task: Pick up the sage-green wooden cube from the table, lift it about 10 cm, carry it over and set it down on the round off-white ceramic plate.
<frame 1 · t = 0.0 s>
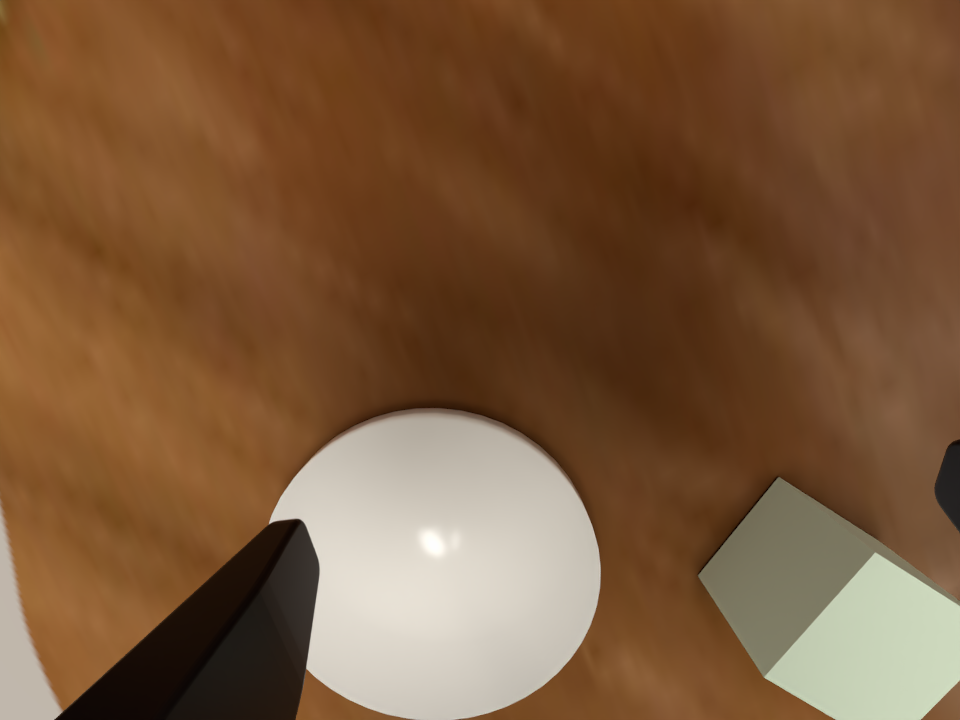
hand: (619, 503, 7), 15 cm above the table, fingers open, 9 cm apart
sage cube: (787, 558, 25), on the table
plate: (434, 560, 25), on the table
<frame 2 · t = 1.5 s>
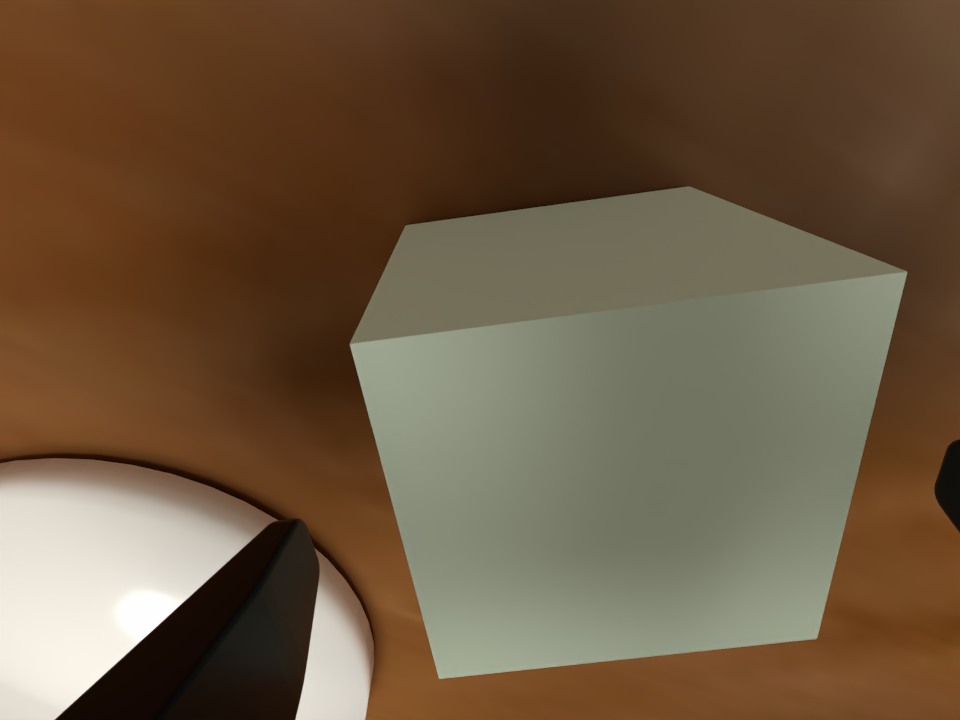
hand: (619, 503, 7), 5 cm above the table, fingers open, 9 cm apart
sage cube: (555, 335, 12), on the table
plate: (138, 647, 17), on the table
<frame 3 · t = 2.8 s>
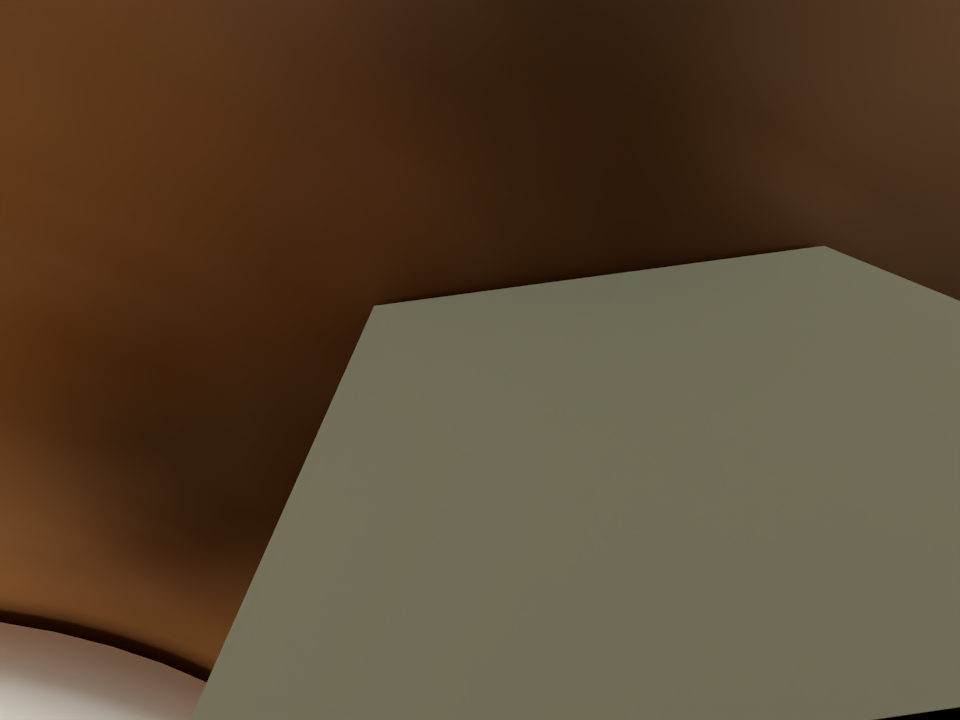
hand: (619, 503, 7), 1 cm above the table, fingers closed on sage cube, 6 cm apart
sage cube: (601, 457, 8), on the table, touching gripper
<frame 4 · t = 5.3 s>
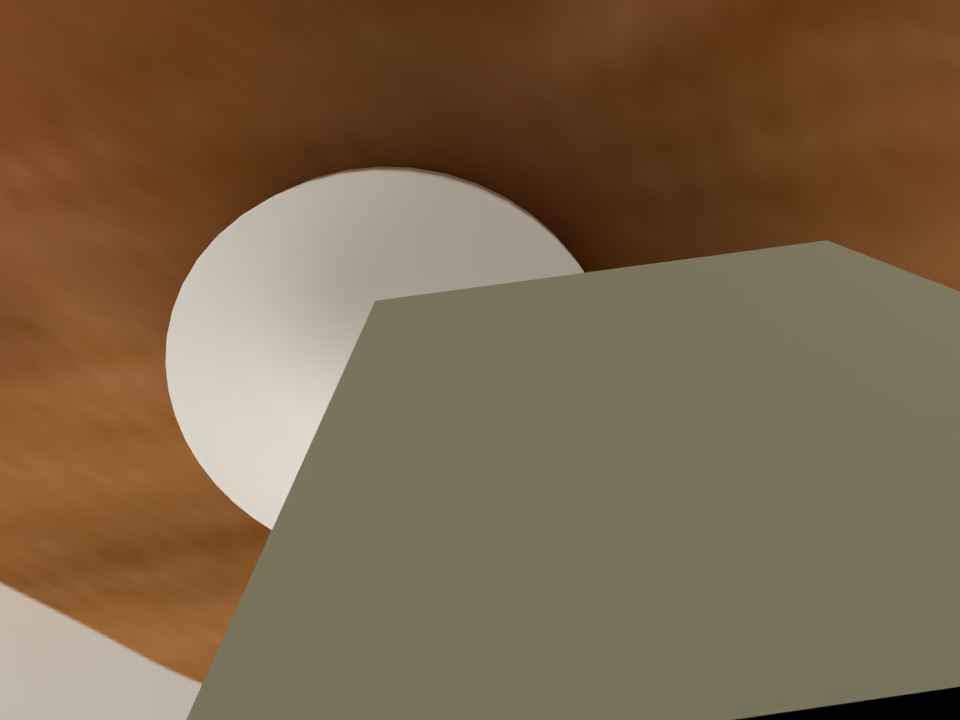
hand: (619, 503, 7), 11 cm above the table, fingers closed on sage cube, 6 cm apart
sage cube: (603, 453, 8), point 10 cm above the table, touching gripper
plate: (403, 385, 19), on the table
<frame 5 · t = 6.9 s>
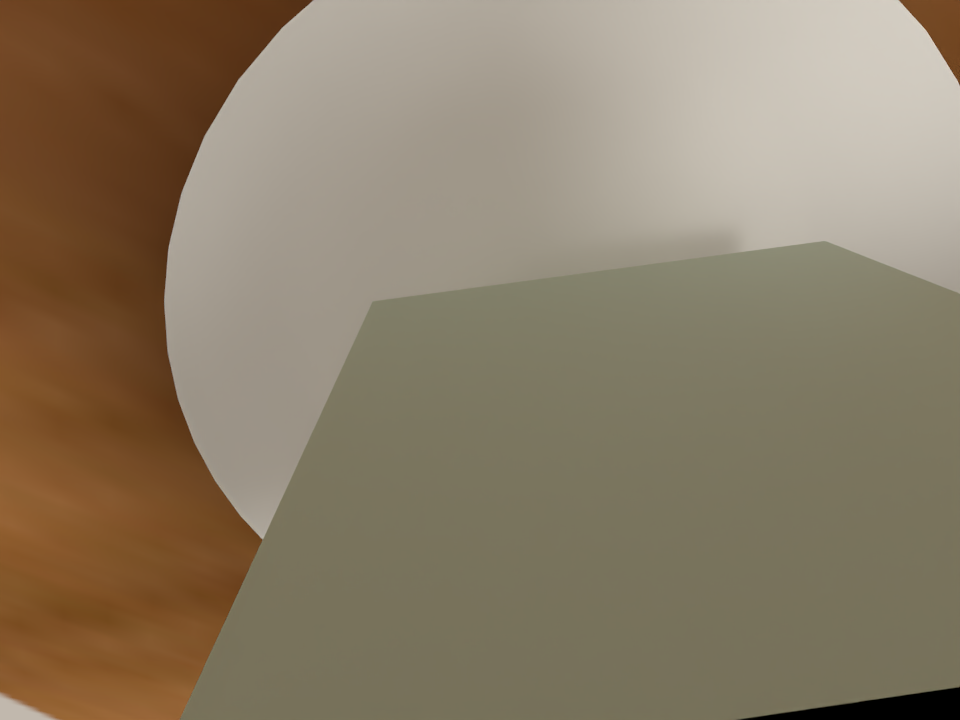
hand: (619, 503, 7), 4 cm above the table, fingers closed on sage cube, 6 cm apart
sage cube: (601, 454, 8), point 3 cm above the table, touching gripper
plate: (561, 359, 11), on the table
when the fingers open (4 cm above the table, at t = 7.9 s): sage cube drops 1 cm, resting on plate.
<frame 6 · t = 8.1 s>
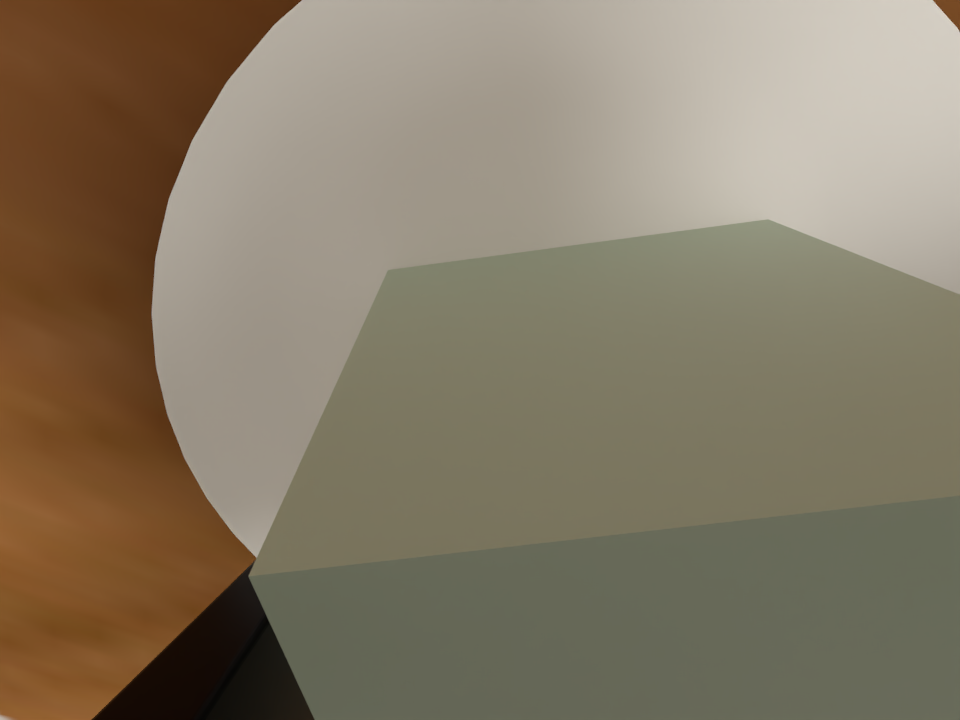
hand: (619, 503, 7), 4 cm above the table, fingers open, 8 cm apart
sage cube: (583, 405, 10), point 1 cm above the table, touching plate
plate: (567, 371, 11), on the table
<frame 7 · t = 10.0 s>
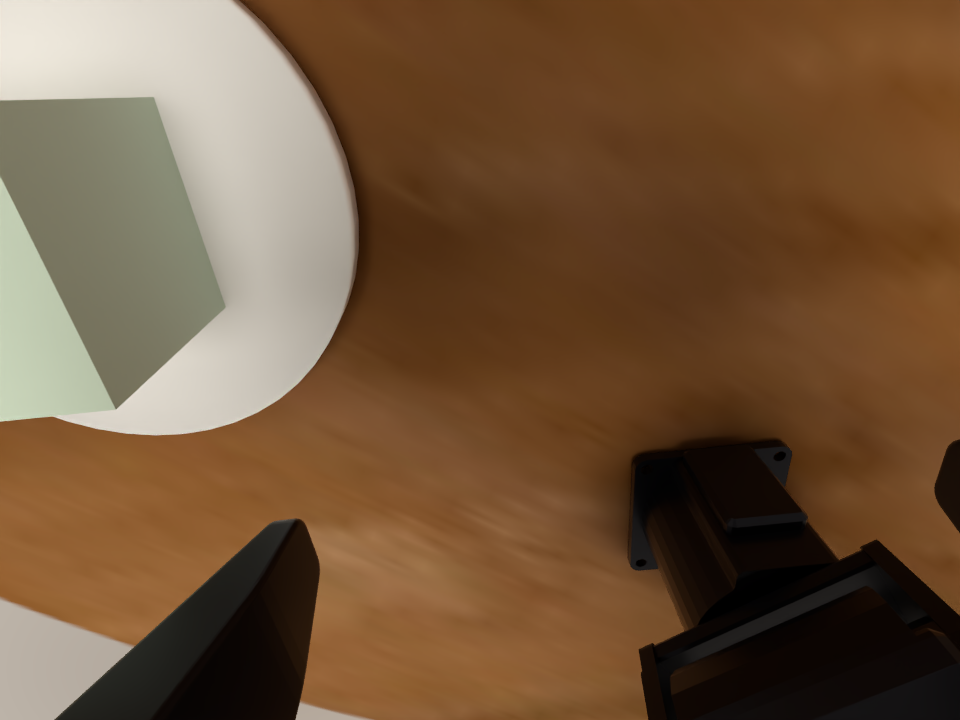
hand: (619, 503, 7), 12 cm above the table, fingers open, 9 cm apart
sage cube: (91, 222, 15), point 1 cm above the table, touching plate
plate: (120, 213, 17), on the table
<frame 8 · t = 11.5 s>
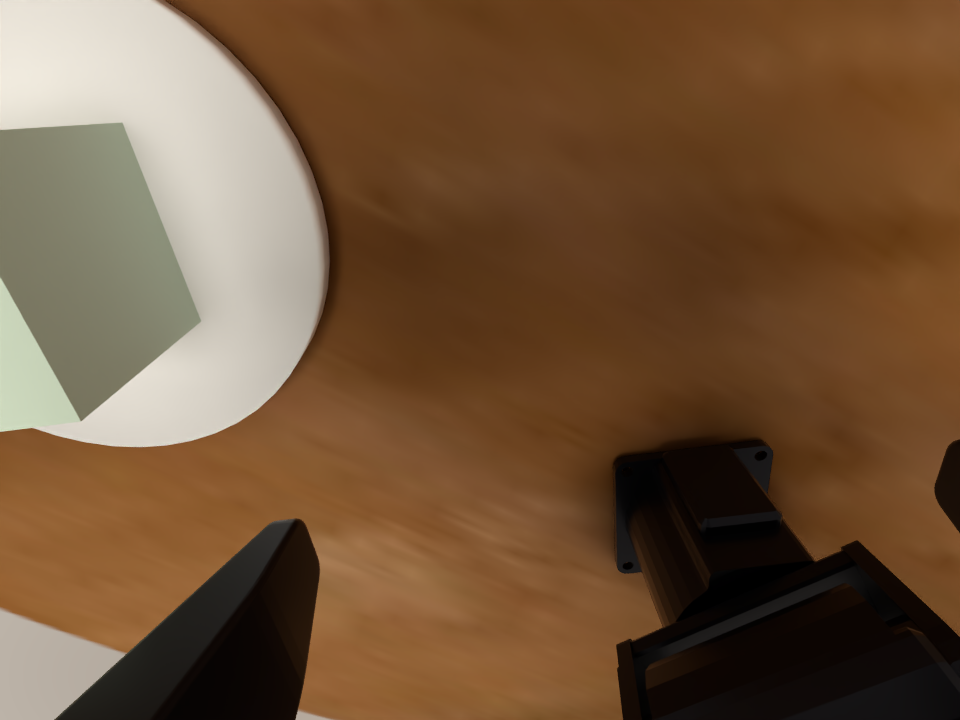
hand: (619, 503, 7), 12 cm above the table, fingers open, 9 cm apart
sage cube: (69, 243, 16), point 1 cm above the table, touching plate
plate: (100, 234, 17), on the table
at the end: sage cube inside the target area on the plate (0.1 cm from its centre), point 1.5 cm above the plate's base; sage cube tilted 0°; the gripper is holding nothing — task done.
